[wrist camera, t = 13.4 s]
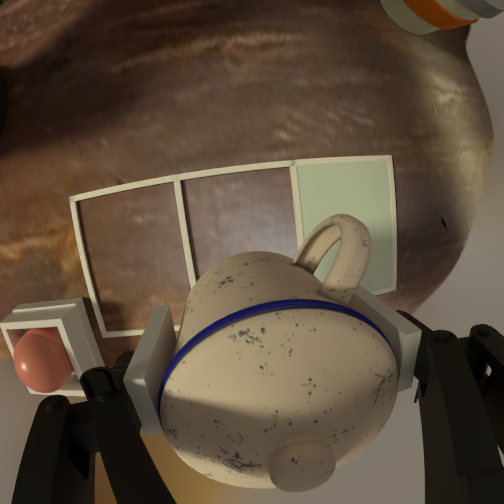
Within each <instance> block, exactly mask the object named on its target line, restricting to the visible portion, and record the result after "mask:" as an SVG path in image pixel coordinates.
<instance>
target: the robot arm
mask: <svg viewBox="0 0 504 504" xmlns="http://www.w3.org/2000/svg"><path fill="white" fill-rule="evenodd" d="M6 1H7V0H0V6H1V5H3V4H4V3H5V2H6ZM6 104H7V93H6V86H5V83H4V80H3V78H2V76H1V75H0V133H1V130H2V126H3V123H4V118H5V113H6ZM347 307H348V308H351V309H353V310H355V311H357V312H359V313H361V314H362V315H364V316H365V317H367V318H368V319H370V320H371V321H372V322H373V323H374V324H375V325H376V326H378V327H379V329H380V330H381V331H382V332H383V333H384V335H385V336H386V338H387V340H388V341H389V343H390V345H391V347H392V350H393V353H394V356H395V360H396V363H397V368H398V391H397V392H400V391H402V390H405V389H408V388H410V387H411V386H412V382H413V377H414V376H415V377H416V378H417V379H418V380H419V383H418V387H417V391H416V395H415V399H414V403H416V401H417V399H419V407H420V415H421V424H422V435H423V447H424V465H425V504H504V467H503V465H502V462H501V458H500V454H499V450H498V446H499V448H500V450H501V451H502V453H503V455H504V336H503V335H501V334H500V333H499V332H498V331H497V330H496V329H494V328H492V327H491V326H488V325H486V324H480V325H475V326H473V327H472V328H471V330H470V335H469V337H464V338H457V337H456V335H454V334H453V333H452V332H450V331H445V330H436V331H432V330H431V329H429V328H428V327H427V326H425V325H424V324H422V323H421V322H419V321H418V320H417V319H415V318H414V317H413V316H411V315H410V314H408V313H406V312H403V311H400V310H397V311H395V310H394V309H392V308H391V307H390V306H388V305H387V304H385V303H384V302H383V301H381V300H380V299H379V298H377V297H376V296H374V295H373V294H372V293H370V292H369V291H367V290H366V289H365V288H363V287H362V286H360V285H358V287H357V289H356V291H355V292H354V294H353V296H352V298H351V299H350V301H349V303H348V304H347ZM176 343H177V339H176V334H175V330H174V325H173V320H172V316H171V311H170V306H169V305H165V306H155V308H154V310H153V313H152V315H151V317H150V319H149V321H148V323H147V326H146V328H145V330H144V332H143V334H142V337H141V339H140V341H139V343H138V346H137V348H136V350H135V351H128V352H124V353H123V354H121V355H120V356H119V357H118V358H117V360H116V362H115V364H114V366H113V368H112V369H111V368H109V367H103V366H100V367H94V368H91V369H89V370H87V371H85V372H84V373H83V374H82V375H81V376H80V379H79V382H80V384H81V387H82V389H83V391H84V393H85V396H86V398H87V400H88V401H85V402H80V403H75V404H70V402H69V400H68V399H67V398H66V397H65V396H63V395H51V396H49V397H47V398H45V399H44V400H42V401H41V403H40V404H39V406H38V409H37V412H36V414H35V417H34V420H33V423H32V426H31V429H30V432H29V435H28V439H27V442H26V445H25V449H24V452H23V456H22V459H21V463H20V467H19V471H18V475H17V479H16V484H15V488H14V493H13V498H12V503H11V504H95V496H94V495H95V491H94V490H95V456H96V452H100V453H101V457H102V460H103V463H104V467H105V470H106V472H107V476H108V479H109V482H110V485H111V487H112V490H113V493H114V496H115V498H116V501H117V503H118V504H177V503H176V501H175V500H174V498H173V496H172V495H171V493H170V491H169V490H168V488H167V486H166V484H165V483H164V481H163V479H162V477H161V475H160V474H159V472H158V470H157V468H156V466H155V464H154V462H153V460H152V458H151V456H150V454H149V453H148V450H147V448H146V447H145V445H144V442H143V440H142V438H141V436H140V434H139V433H140V429H141V426H142V428H143V430H144V432H145V434H146V435H165V433H164V431H163V428H162V423H161V420H160V417H159V413H158V393H159V389H160V384H161V381H162V378H163V376H164V373H165V371H166V369H167V367H168V366H169V364H170V362H171V361H172V359H173V356H174V352H175V347H176ZM488 365H489V366H490V367H491V370H492V371H491V374H490V376H488V375H487V373H486V372H487V369H488ZM497 445H498V446H497Z"/></svg>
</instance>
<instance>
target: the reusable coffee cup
mask: <svg viewBox="0 0 504 504" xmlns="http://www.w3.org/2000/svg"><path fill="white" fill-rule="evenodd" d="M380 2H381V4H382V6H383V8H384V10H385V11H386V13H387V14H388V15H389V17H390V18H391V19H392V20H393V21H394V22H395V23H396V24H398V25H399V26H400V27H401V28H403V29H404V30H406V31H408V32H410V33H413V34H416V35H425V34H428V33H431V32H434V31H437V30H440V29H443V30H450V29H454V28H457V27H461V26H465V25H469V24H472V23H475V22H477V21H478V19H479V18H487V19H488V18H493V17H494V16H496V15H498V14H499V13H501V12H503V11H504V0H380Z"/></svg>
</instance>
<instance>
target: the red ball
mask: <svg viewBox="0 0 504 504" xmlns="http://www.w3.org/2000/svg"><path fill="white" fill-rule="evenodd" d="M13 358H14V366H15V369H16V372H17V374H18V376H19V378H20V379H21V380H22V382H23V383H24V384H25V385H26V386H28V387H29V388H31V389H32V390H34V391H37V392H40V393H52V392H55V391H57V390H59V389H60V388H61V387H63V386H64V384H65V383H66V382H67V380H68V378H69V377H70V375H71V374H72V372H73V371H74V368H73V365H72V363H71V361H70V358H69V356H68V353H67V351H66V348H65V346H64V343H63V340H62V338H61V335H60V332H59V330H58V327H42V328H31V329H30V330H28V331H27V332H26V333H25V334H24V335H23V336H22V337H21V338H20V339H19V341H18V342H17V344H16V346H15V349H14V356H13Z"/></svg>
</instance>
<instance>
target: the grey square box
mask: <svg viewBox="0 0 504 504" xmlns="http://www.w3.org/2000/svg"><path fill="white" fill-rule="evenodd" d="M0 327H1V329H2V332H3V335H4V337H5V340H6V342H7V345H8V347H9V349H10V352H11V354H12V356H14V349H15V346H16V344H17V342H18V341H19V339H20V338H21V337H22V336H23V335H24V334H25V333H26V332H27V331H28V330H30V329H31V328H42V327H58V330H59V332H60V335H61V338H62V340H63V343H64V346H65V348H66V351H67V353H68V356H69V358H70V361H71V363H72V365H73V368H74V371H73V372H72V374H71V375H70V377H69V378H68V380H67V382H66V383H65V384H64V386H63V387H61V388H60V389H59V390H57V391H55V392H52V393H40V392H37V391H34V390H32V389H31V388H29V387H28V386H27V388H28V390H29V391H30V393H32V394H45V395H63V396H85V393H84V391H83V389H82V387H81V384H80V382H79V379H80V376H81V375H82V374H83V373H84V372H85V371H87V370H89V369H91V368H94V367H100V366H103V367H105V364H104V362H103V359H102V356H101V354H100V351H99V348H98V346H97V343H96V340H95V337H94V334H93V331H92V328H91V325H90V322H89V319H88V316H87V312H86V309H85V306H84V302H83V299H82V297H79V298H70V299H62V300H53V301H45V302H36V303H27V304H20V305H19V306H17V307H16V308H15V309H13V313H11V314H10V315H9V316H8V317H6V318H5V319H4V320H2V321H1V322H0ZM13 359H14V358H13Z"/></svg>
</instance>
